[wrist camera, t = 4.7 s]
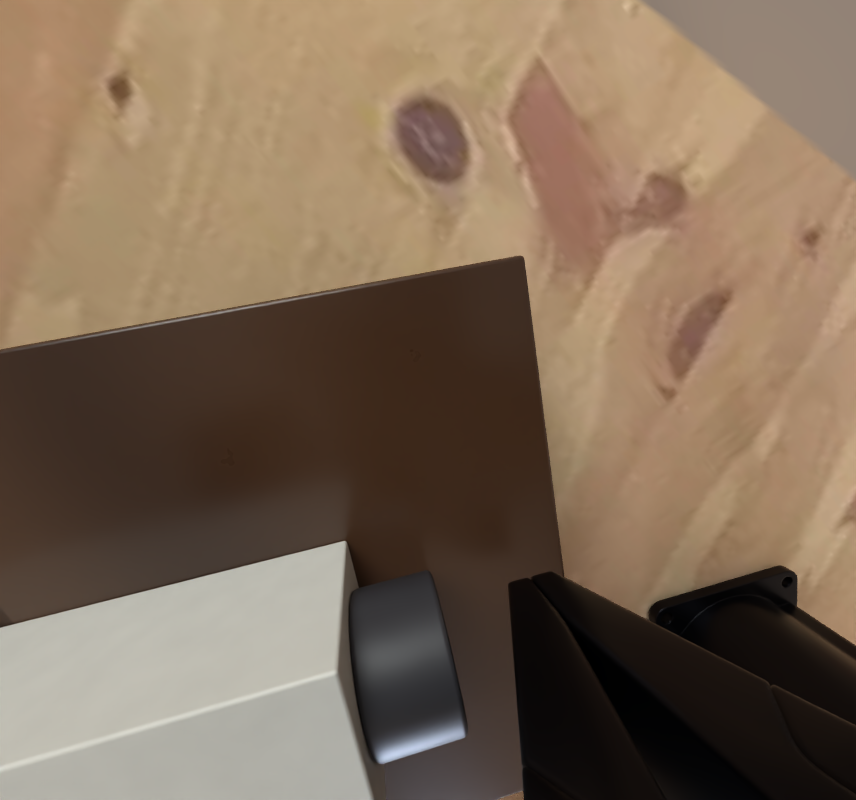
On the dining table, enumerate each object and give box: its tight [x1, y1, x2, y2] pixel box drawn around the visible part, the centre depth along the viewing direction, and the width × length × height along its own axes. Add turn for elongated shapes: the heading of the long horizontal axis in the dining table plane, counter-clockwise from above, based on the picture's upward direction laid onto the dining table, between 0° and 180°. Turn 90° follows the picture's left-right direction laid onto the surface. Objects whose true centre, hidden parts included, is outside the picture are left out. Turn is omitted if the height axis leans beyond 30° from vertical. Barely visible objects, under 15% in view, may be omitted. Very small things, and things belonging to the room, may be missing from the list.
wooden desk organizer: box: [0, 256, 564, 800], centre depth 10 cm, size 24×14×6 cm, turn 101°
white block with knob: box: [0, 541, 468, 800], centre depth 6 cm, size 9×3×3 cm, turn 101°
